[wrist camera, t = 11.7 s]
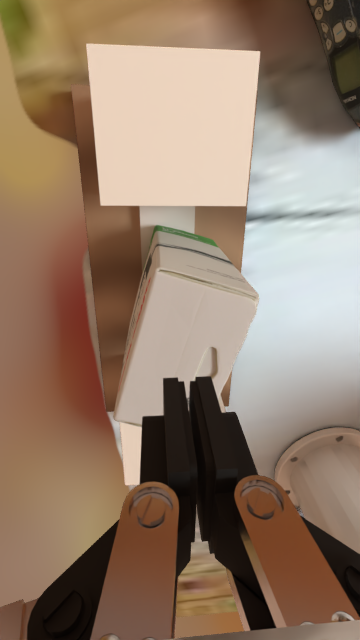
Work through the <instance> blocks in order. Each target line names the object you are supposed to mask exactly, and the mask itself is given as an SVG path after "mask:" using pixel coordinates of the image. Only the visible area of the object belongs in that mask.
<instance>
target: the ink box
mask: <svg viewBox="0 0 360 640" xmlns="http://www.w3.org/2000/svg"><path fill="white" fill-rule="evenodd" d="M258 303H259V295H258V293H257V292H256V291H255V290H254V289H253V287H252V286H251V285H250V284H249V283H248V282H247V280H246V279H245V278H244V277H243V276H242V274H241V273H240V272H239V271H238V270H237V269H236V268H235V266H234V265H233V264H232V263H231V261H230V260H229V259H228V258H227V256H226V255H225V254H224V253H223V252H222V250H221V249H220V248H219V247H218V246H217V244H216V243H215V242H214V240H212V239H209V238H206V237H203V236H199V235H196V234H193V233H189V232H186V231H182V230H178V229H174V228H170V227H165V226H160V225H156V226H155V227H154V230H153V234H152V238H151V242H150V246H149V250H148V253H147V257H146V261H145V265H144V269H143V273H142V277H141V281H140V285H139V289H138V293H137V296H136V300H135V304H134V308H133V312H132V316H131V320H130V325H129V331H128V336H127V342H126V347H125V353H124V358H123V365H122V370H121V376H120V382H119V388H118V393H117V399H116V404H115V410H114V416H113V417H114V420H115V421H118V422H121V423H125V424H129V425H133V426H137V427H142V417H143V416H159V415H163V378H175V377H178V381H184V384H185V390H186V397H187V403H188V410H189V391H190V381H195V377H202V376H211V378H212V381H213V385H214V388H215V391H216V395H217V398H218V400H219V397H220V394H221V392H222V389H223V387H224V385H225V383H226V381H227V380H228V378H229V375H230V373H231V371H232V368H233V364H234V362H235V359H236V357H237V355H238V353H239V351H240V349H241V347H242V345H243V343H244V341H245V338H246V336H247V333H248V329H249V327H250V324H251V322H252V321H253V319H254V317H255V315H256V311H257V305H258Z"/></svg>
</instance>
